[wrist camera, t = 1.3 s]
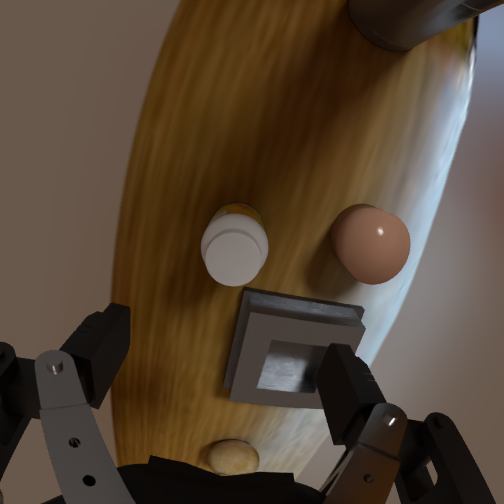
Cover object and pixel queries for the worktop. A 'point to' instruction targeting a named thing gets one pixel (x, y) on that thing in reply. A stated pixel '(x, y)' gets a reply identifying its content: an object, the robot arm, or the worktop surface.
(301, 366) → the collar socket
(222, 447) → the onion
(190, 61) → the worktop surface
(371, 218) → the brown egg
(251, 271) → the supplement bottle
